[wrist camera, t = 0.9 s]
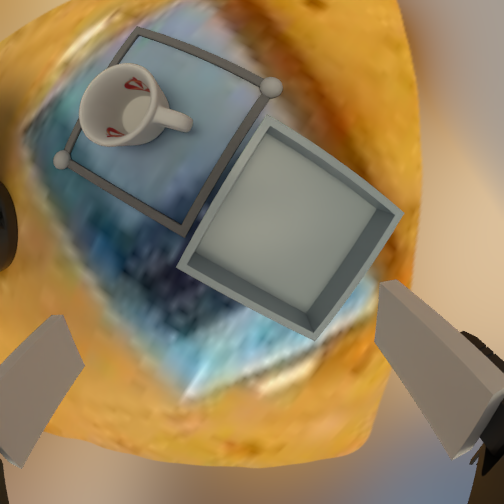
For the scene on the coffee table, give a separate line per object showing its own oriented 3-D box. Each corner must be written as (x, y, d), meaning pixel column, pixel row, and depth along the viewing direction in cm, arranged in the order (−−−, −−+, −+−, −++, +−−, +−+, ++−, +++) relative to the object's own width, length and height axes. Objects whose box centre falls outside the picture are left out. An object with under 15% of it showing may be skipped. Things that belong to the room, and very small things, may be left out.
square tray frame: (58, 164, 28) (47, 165, 26) (138, 24, 24) (132, 16, 22) (188, 244, 32) (184, 249, 30) (285, 87, 27) (288, 81, 25)
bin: (186, 252, 31) (176, 267, 27) (263, 123, 28) (267, 114, 23) (306, 318, 34) (314, 341, 29) (382, 206, 30) (404, 212, 26)
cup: (212, 99, 27) (201, 76, 19) (186, 166, 29) (166, 165, 21) (128, 80, 26) (97, 58, 18) (104, 142, 28) (67, 137, 20)
